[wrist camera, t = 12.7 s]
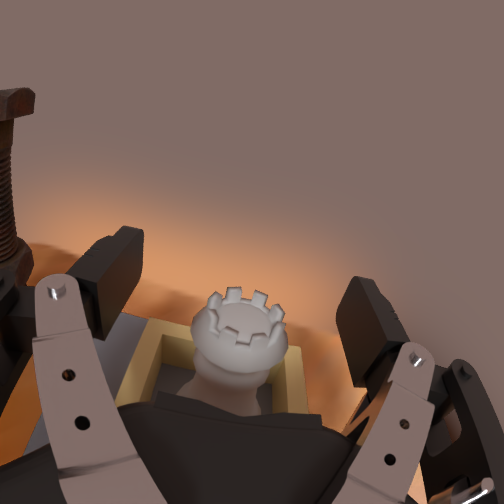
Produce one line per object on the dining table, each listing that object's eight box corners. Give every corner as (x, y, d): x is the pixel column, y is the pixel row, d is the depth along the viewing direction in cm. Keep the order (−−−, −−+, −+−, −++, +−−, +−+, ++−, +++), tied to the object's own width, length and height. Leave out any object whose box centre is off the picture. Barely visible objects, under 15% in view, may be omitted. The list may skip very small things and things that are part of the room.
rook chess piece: (263, 461, 11) (336, 365, 7) (169, 463, 10) (170, 365, 6) (248, 391, 15) (293, 276, 11) (168, 388, 14) (176, 264, 10)
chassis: (15, 506, 5) (-22, 486, 3) (103, 317, 18) (99, 276, 16) (293, 574, 6) (327, 577, 4) (284, 357, 19) (300, 321, 18)
